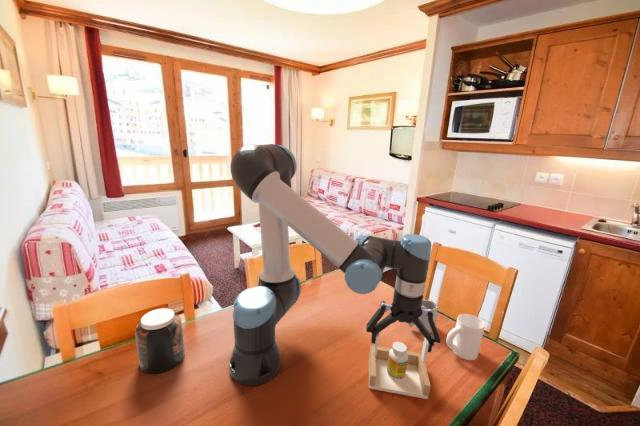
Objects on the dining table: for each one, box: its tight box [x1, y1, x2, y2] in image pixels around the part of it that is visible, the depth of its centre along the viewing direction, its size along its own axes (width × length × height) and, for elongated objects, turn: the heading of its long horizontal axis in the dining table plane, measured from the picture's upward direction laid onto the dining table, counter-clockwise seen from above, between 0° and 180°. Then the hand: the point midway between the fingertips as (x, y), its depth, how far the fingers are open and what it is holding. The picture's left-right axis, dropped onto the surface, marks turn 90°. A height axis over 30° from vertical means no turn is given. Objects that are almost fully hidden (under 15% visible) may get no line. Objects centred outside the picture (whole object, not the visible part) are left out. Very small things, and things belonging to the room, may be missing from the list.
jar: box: [134, 307, 185, 375], centre depth 84 cm, size 12×12×15 cm
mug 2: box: [445, 313, 486, 361], centre depth 93 cm, size 8×12×12 cm
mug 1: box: [407, 299, 439, 334], centre depth 105 cm, size 8×12×12 cm, turn 105°
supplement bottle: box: [387, 341, 408, 380], centre depth 83 cm, size 5×5×10 cm
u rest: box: [368, 344, 431, 400], centre depth 83 cm, size 16×12×4 cm
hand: (398, 355), depth 82 cm, fingers open, 13 cm apart
